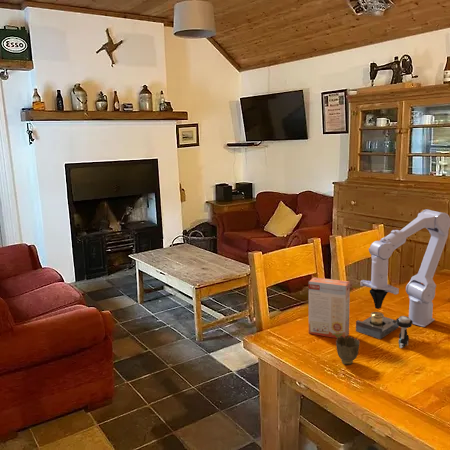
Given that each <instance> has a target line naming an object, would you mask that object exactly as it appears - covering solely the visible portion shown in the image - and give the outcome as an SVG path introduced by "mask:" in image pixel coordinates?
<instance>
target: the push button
mask: <svg viewBox="0 0 450 450" xmlns="http://www.w3.org/2000/svg"><path fill="white" fill-rule="evenodd" d="M395 320H396V322H397V325H398V326H399V328H400V332H399V334H398V347H399V348H400V349H402V348H405V347H406V346H409V342H410V341H409V337H410V336H409V334H408V329H409V328H411V327H412V325H413V324H412V323H413V321H412V320H410V318H409V316H405V315H401V316H399V317H397V318H396V319H395Z"/></svg>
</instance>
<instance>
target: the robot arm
mask: <svg viewBox="0 0 450 450" xmlns="http://www.w3.org/2000/svg"><path fill="white" fill-rule="evenodd" d="M422 229H426V230H427V231H428V232H429V235H430V238H429V242H428V244H427V247H426V249H425V253H424V255H423V258H422V261H421V264H420V267H419V270H418V272H417V273H416V274H415V275H413V276H411V278H410V280H409V282H408V283H407V284H406V286H405V292H406V294H407V295H408V299H409V307H408V317H409V318H410V320H412V321H413V323H412V325H416V326H418V327H422V328H425V327H426V326H428V325H429V324H431V323H433V322H434V321H435V318H433V310H434V309H433V307H434V303H433V300H434V299H435V296H436V288H437V284H436V283H435V281H434V279H433V278H434V275H435V274H436V270H437V267H438V265H439V261H440V260H441V257H442V254H443V251H444V248H445V245H446V242H447V240H448V237H449V230H450V215H449V214H448V213H447V212H441V211H435V210H431V209H429V208H427V209H423V210H422V211H421V212H418V213H417V217H416V218H413V220H412V221H410V222H409V223H408V224H406V226H404V227H402V229H400V230H399V229H392V230H391V231H390V233H388V235H385V236H384V237H382V238H380V240H375V241H373V242H371V244H370V247H369V248H368V252H369V254H370V255H371V256H370V258H371V273H370V274H371V276H370V279H371V280H365V279H362V280H360V287H366V288H371V289H370V290H369V294H370V296H371V298H372V300H373V303H374V307H375V309H377V310H380V309H382V306H383V302H384V300H385V298H386V296H387V295H388V293H390V294H393V295H398V294H399V290H400V288H398V287H395V286H393V285H391V284H389V283H388V275H389V274H388V273H389V258H390V257H391V256H392V255H393V252H394V251H395V250H396V249H398V248H400V246H402V245H404V244H405V243H406V242H407V238H409V237H411V236H412V235H413V234H416V233H417V232H419V231H420V230H422Z"/></svg>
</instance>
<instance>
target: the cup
mask: <svg viewBox="0 0 450 450" xmlns="http://www.w3.org/2000/svg"><path fill="white" fill-rule="evenodd" d="M360 343H361V342H360V340H359V339H358V338H357V337H356V338H355V337H353V336H352V337H351V336H350V335H348V336H345V338H344V337H343V336H340V338H339V337H338V338H336V339H335V344H336V352H337V355H338V357H339V358H340V361H341V363H342V364H343V365H345V366H351V365H352V364H353V363H354V361H355V360H356V359H357V357H358V355H359V350H360V349H359V348H360Z"/></svg>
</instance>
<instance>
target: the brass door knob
mask: <svg viewBox="0 0 450 450" xmlns="http://www.w3.org/2000/svg"><path fill="white" fill-rule="evenodd" d="M371 316H372V320H371V324H372V325H375V326H382V323H383V317H385V315H384V313H382V312H380V311H379V312H378V311H372V312H371V313H370V317H371Z"/></svg>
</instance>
